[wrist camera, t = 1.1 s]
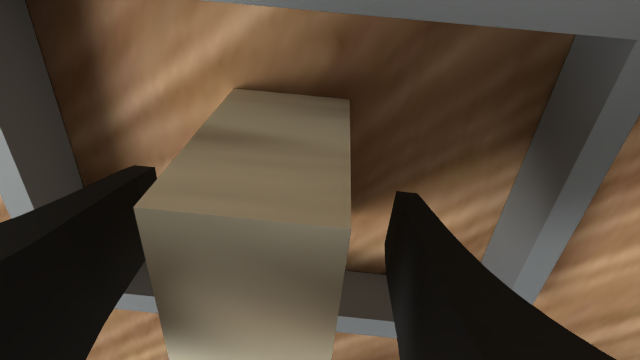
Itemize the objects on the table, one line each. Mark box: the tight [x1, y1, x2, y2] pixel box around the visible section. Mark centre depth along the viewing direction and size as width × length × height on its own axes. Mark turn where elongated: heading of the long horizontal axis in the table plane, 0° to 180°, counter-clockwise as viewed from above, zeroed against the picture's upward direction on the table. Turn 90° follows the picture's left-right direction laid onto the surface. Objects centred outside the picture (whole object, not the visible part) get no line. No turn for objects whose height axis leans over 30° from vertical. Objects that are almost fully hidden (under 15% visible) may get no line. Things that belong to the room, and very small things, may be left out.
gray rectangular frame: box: [0, 0, 640, 338], centre depth 13 cm, size 13×19×2 cm
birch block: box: [133, 89, 351, 360], centre depth 11 cm, size 5×4×7 cm
